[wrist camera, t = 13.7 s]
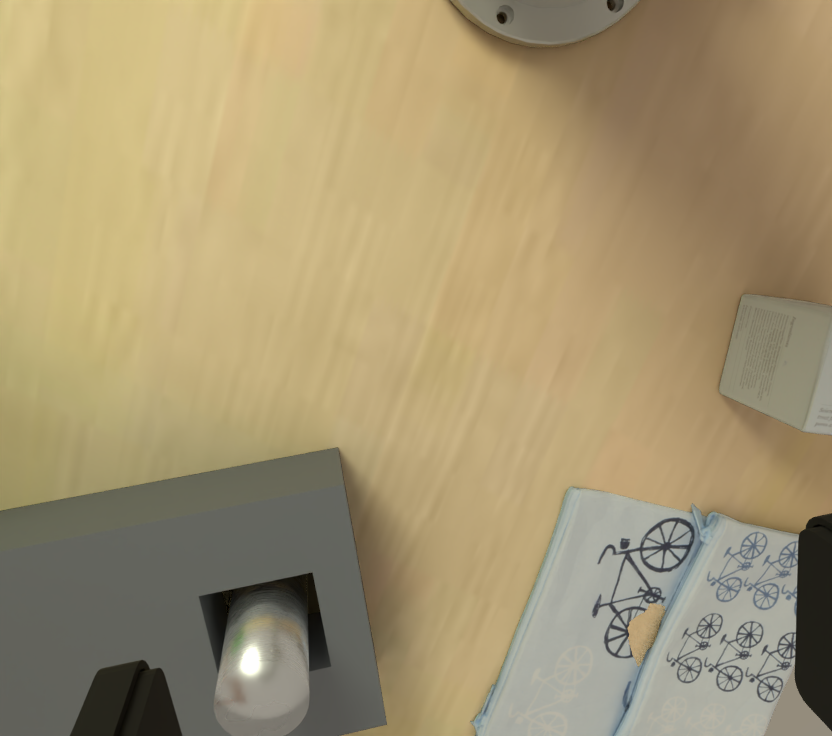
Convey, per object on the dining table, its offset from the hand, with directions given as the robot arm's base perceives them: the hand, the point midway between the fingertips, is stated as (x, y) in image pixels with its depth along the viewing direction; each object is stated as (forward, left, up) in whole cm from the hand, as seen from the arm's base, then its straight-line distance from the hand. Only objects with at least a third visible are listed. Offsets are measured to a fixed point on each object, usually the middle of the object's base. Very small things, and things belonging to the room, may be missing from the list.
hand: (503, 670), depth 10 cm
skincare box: (-24, +6, -28) cm, 37 cm away
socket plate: (+13, +14, -28) cm, 34 cm away
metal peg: (+7, +14, -28) cm, 32 cm away
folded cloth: (-16, +24, -29) cm, 40 cm away
